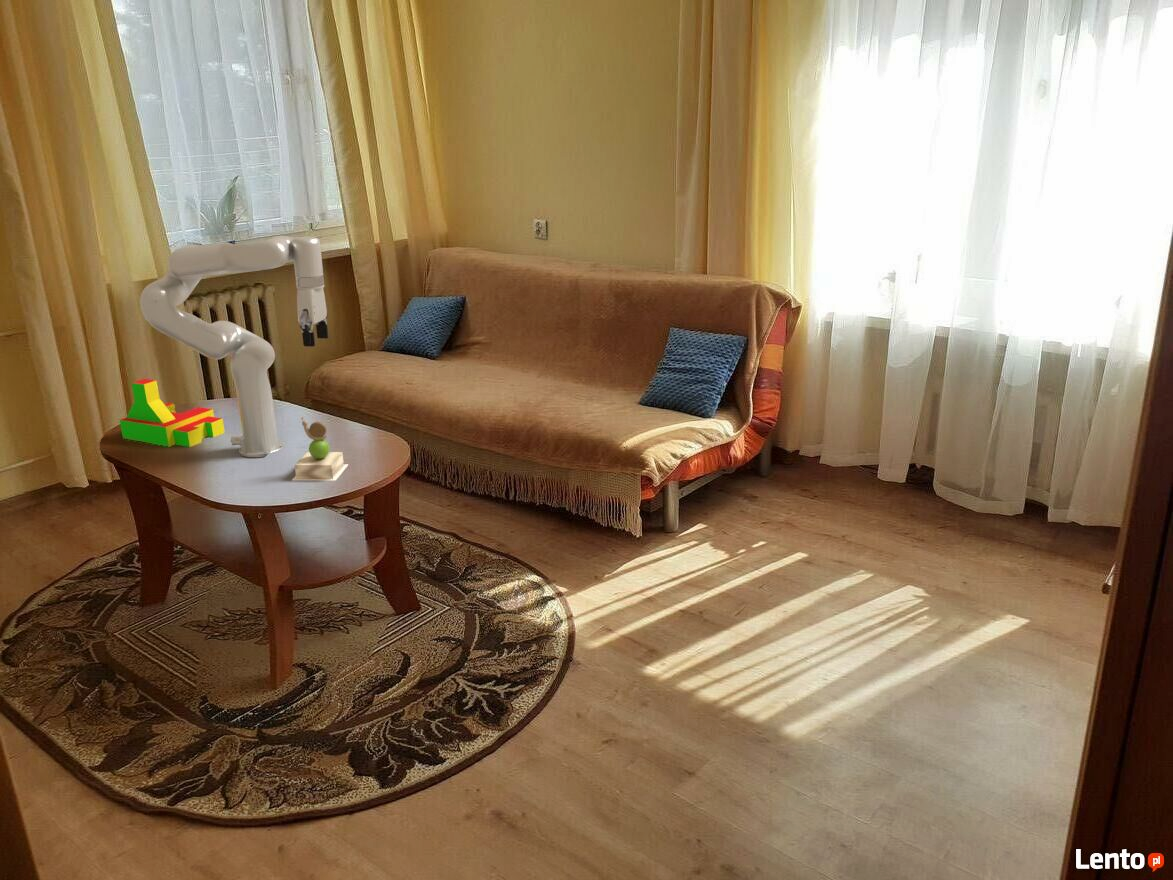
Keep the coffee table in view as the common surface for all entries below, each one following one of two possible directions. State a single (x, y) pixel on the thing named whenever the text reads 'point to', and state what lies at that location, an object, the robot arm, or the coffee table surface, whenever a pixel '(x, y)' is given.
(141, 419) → the building blocks toy
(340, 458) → the pedestal block
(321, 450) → the snail figurine
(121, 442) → the coffee table surface
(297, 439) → the coffee table surface
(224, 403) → the coffee table surface
